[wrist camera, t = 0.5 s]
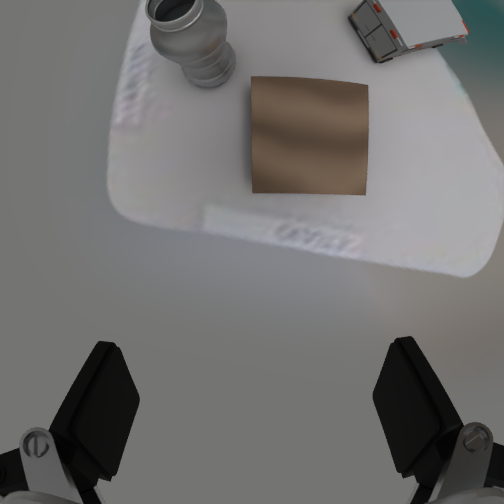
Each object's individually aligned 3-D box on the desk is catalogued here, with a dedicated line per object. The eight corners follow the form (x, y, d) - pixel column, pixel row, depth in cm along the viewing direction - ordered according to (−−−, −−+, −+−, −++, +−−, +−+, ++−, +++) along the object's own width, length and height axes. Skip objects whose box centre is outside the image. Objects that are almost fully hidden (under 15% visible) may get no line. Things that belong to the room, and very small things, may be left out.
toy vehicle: (454, 48, 28) (493, 36, 19) (375, 71, 31) (410, 55, 22) (425, -3, 25) (458, -23, 15) (341, 14, 28) (364, -16, 19)
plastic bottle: (179, 83, 32) (110, 39, 13) (197, 39, 30) (149, -36, 11) (226, 96, 33) (197, 52, 14) (244, 51, 30) (236, -27, 12)
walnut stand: (251, 86, 32) (251, 76, 27) (351, 92, 32) (368, 85, 27) (252, 184, 37) (252, 193, 32) (349, 186, 37) (365, 195, 31)
